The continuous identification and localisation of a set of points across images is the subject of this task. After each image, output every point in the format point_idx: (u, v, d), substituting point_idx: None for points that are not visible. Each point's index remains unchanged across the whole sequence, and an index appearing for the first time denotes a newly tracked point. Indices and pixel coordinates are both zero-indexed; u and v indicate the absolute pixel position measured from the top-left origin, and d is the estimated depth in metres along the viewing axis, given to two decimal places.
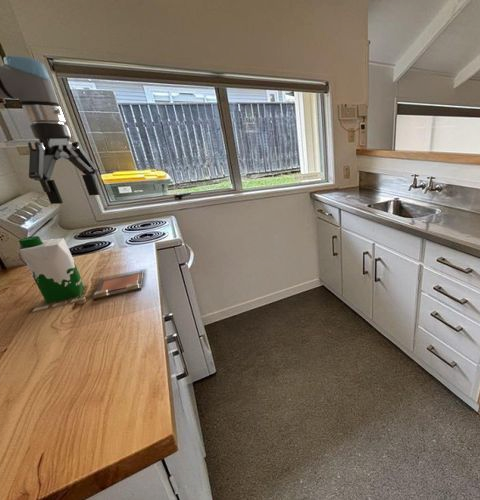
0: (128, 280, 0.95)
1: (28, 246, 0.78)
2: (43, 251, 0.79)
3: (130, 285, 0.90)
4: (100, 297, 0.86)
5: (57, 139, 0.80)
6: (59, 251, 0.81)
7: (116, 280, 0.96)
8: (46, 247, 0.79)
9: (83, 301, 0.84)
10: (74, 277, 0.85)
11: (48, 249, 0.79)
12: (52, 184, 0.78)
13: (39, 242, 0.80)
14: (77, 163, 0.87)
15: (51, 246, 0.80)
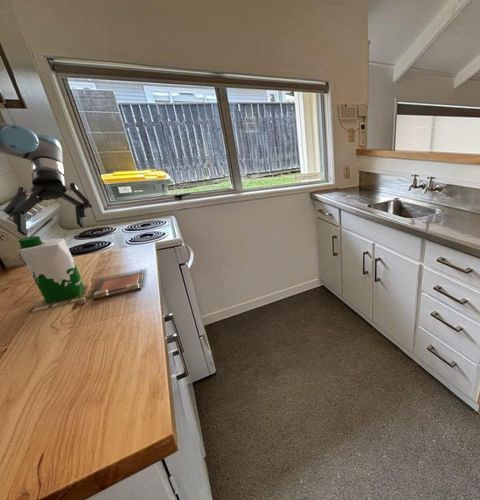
0: (128, 280, 0.95)
1: (28, 246, 0.78)
2: (43, 251, 0.79)
3: (130, 285, 0.90)
4: (100, 297, 0.86)
5: None
6: (59, 251, 0.81)
7: (116, 280, 0.96)
8: (46, 247, 0.79)
9: (83, 301, 0.84)
10: (74, 277, 0.85)
11: (48, 249, 0.79)
12: None
13: (39, 242, 0.80)
14: (32, 204, 0.90)
15: (51, 246, 0.80)
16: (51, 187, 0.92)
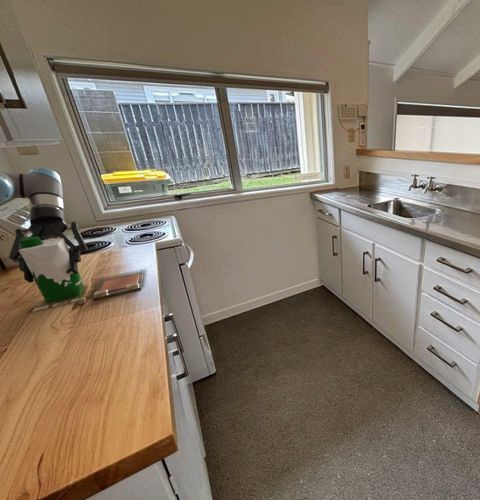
0: (128, 280, 0.95)
1: (28, 246, 0.78)
2: (43, 251, 0.79)
3: (130, 285, 0.90)
4: (100, 297, 0.86)
5: None
6: (59, 251, 0.81)
7: (116, 280, 0.96)
8: (46, 247, 0.79)
9: (83, 301, 0.84)
10: (74, 277, 0.85)
11: (48, 249, 0.79)
12: None
13: (39, 242, 0.80)
14: None
15: (51, 246, 0.80)
16: (50, 226, 0.86)
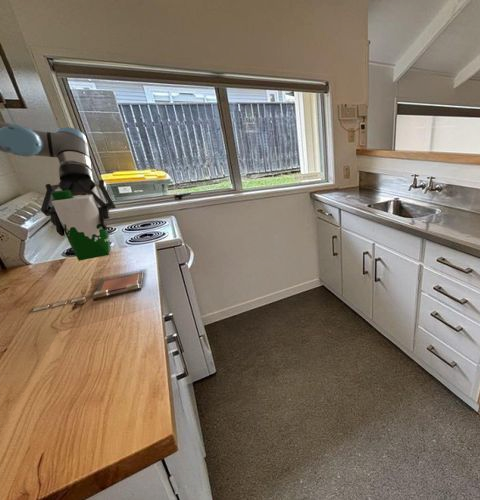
0: (128, 280, 0.95)
1: (60, 198, 0.79)
2: (75, 203, 0.79)
3: (130, 285, 0.90)
4: (100, 297, 0.86)
5: None
6: (89, 205, 0.82)
7: (116, 280, 0.96)
8: (78, 200, 0.80)
9: (83, 301, 0.84)
10: (103, 233, 0.86)
11: (80, 202, 0.80)
12: None
13: (70, 195, 0.81)
14: None
15: (82, 199, 0.80)
16: (80, 182, 0.86)
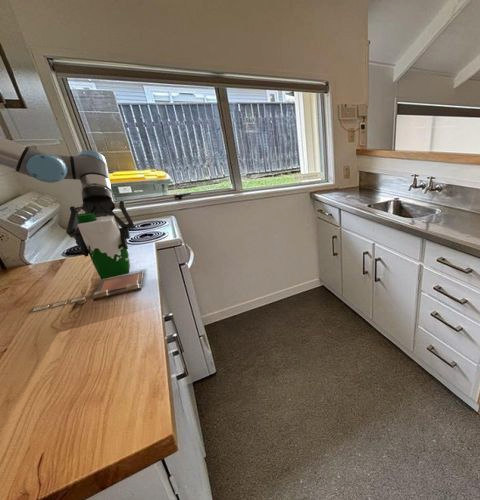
0: (128, 280, 0.95)
1: (85, 221, 0.83)
2: (98, 226, 0.83)
3: (130, 285, 0.90)
4: (100, 297, 0.86)
5: None
6: (112, 227, 0.86)
7: (116, 280, 0.96)
8: (101, 222, 0.84)
9: (83, 301, 0.84)
10: (124, 253, 0.90)
11: (103, 225, 0.84)
12: None
13: (94, 218, 0.85)
14: None
15: (106, 222, 0.84)
16: (101, 204, 0.91)
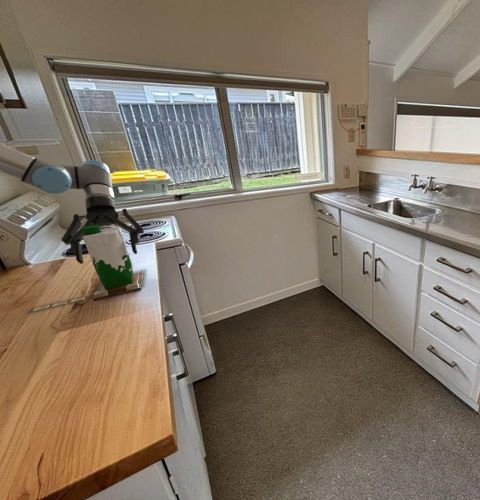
0: None
1: (90, 233, 0.84)
2: (103, 238, 0.85)
3: (130, 285, 0.90)
4: (100, 297, 0.86)
5: None
6: (116, 239, 0.87)
7: None
8: (106, 235, 0.85)
9: (83, 301, 0.84)
10: (127, 264, 0.92)
11: (108, 237, 0.86)
12: None
13: (99, 230, 0.86)
14: None
15: (110, 234, 0.86)
16: (105, 214, 0.92)
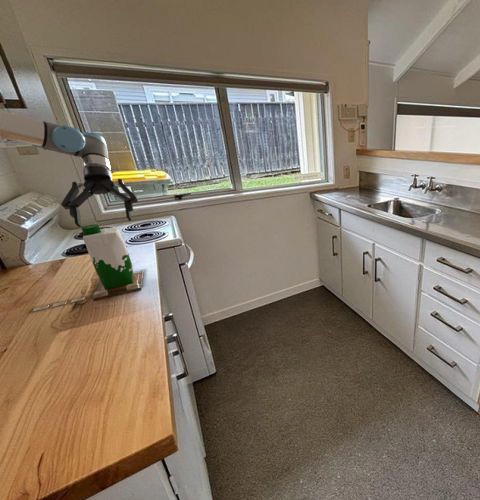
0: None
1: (90, 233, 0.84)
2: (103, 238, 0.85)
3: (130, 285, 0.90)
4: (100, 297, 0.86)
5: None
6: (116, 239, 0.87)
7: None
8: (106, 235, 0.85)
9: (83, 301, 0.84)
10: (127, 264, 0.92)
11: (108, 237, 0.86)
12: None
13: (99, 230, 0.86)
14: (84, 198, 0.97)
15: (110, 234, 0.86)
16: (101, 182, 0.99)
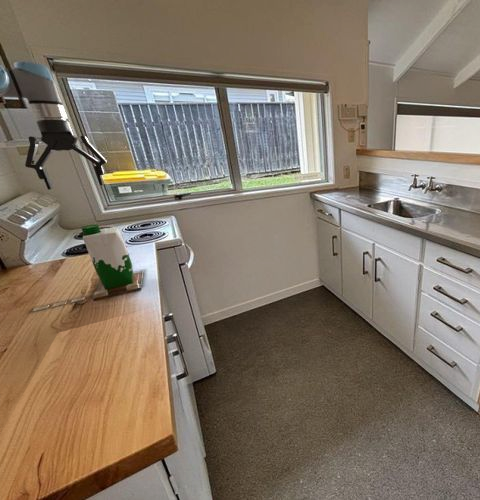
0: None
1: (90, 233, 0.84)
2: (103, 238, 0.85)
3: (130, 285, 0.90)
4: (100, 297, 0.86)
5: None
6: (116, 239, 0.87)
7: None
8: (106, 235, 0.85)
9: (83, 301, 0.84)
10: (127, 263, 0.92)
11: (108, 237, 0.86)
12: None
13: (98, 230, 0.86)
14: (48, 156, 0.93)
15: (110, 234, 0.86)
16: (64, 141, 0.92)
